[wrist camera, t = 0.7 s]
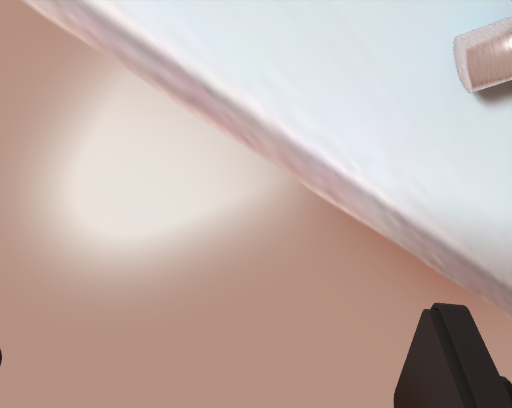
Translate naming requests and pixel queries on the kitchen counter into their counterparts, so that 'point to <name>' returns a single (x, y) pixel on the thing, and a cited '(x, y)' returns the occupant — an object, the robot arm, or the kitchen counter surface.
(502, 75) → the steel axle
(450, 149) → the kitchen counter surface
